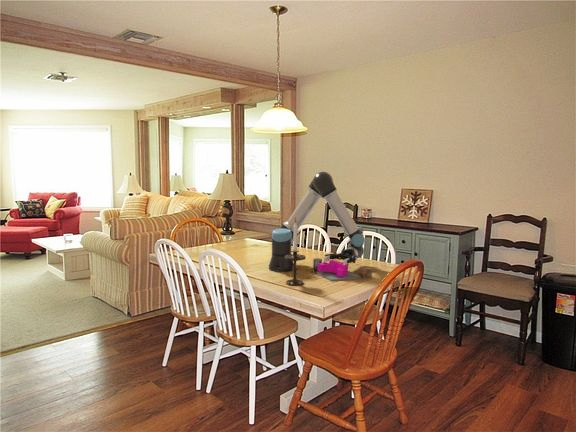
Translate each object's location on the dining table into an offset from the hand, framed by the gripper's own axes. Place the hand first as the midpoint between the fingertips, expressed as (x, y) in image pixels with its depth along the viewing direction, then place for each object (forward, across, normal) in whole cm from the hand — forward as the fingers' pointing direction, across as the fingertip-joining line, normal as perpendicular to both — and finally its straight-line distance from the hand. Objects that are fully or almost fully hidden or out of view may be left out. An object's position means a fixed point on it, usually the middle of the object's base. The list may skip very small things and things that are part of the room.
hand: (334, 261), depth 229 cm
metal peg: (-8, +14, -9) cm, 18 cm away
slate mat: (-4, -1, -9) cm, 10 cm away
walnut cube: (-10, -15, -9) cm, 20 cm away
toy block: (-6, +1, -4) cm, 7 cm away
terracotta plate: (-19, +13, -9) cm, 25 cm away
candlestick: (+23, +12, -10) cm, 27 cm away
